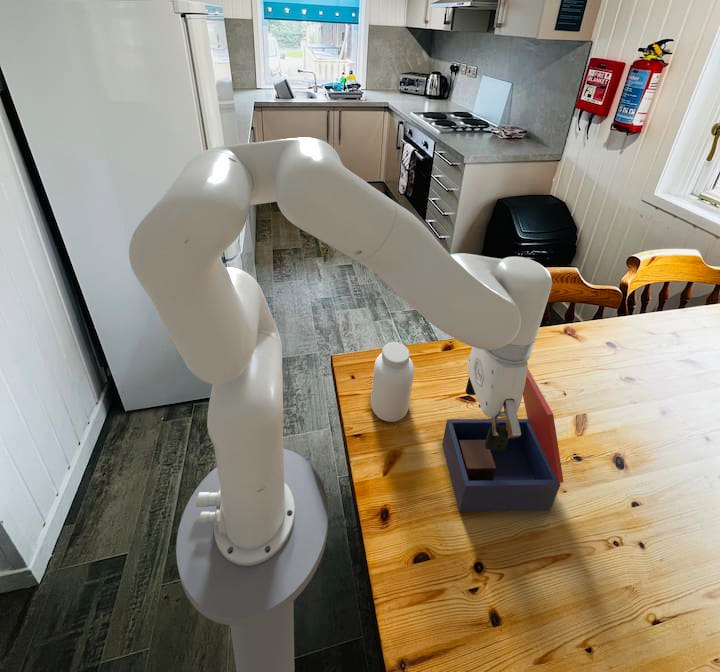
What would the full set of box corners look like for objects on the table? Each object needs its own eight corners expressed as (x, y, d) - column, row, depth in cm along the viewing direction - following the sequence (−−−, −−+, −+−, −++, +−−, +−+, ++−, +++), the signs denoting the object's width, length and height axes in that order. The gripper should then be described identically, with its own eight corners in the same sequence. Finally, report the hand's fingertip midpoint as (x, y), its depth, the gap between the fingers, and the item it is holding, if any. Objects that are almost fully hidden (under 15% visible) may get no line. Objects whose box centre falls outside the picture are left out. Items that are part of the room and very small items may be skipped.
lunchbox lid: (548, 415, 57) (553, 414, 57) (514, 354, 67) (519, 353, 67) (558, 483, 63) (563, 482, 63) (527, 417, 74) (531, 416, 74)
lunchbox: (458, 512, 65) (465, 486, 62) (442, 443, 75) (446, 418, 73) (550, 510, 66) (560, 484, 63) (520, 443, 76) (528, 418, 74)
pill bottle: (381, 429, 77) (387, 372, 72) (364, 396, 84) (368, 342, 78) (415, 415, 81) (424, 360, 75) (396, 385, 87) (403, 332, 82)
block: (462, 487, 68) (467, 468, 66) (454, 458, 72) (458, 439, 70) (491, 487, 68) (496, 468, 66) (481, 458, 72) (486, 439, 71)
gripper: (464, 299, 66) (448, 375, 72) (504, 385, 50) (478, 473, 56) (507, 300, 67) (487, 376, 73) (560, 386, 51) (529, 473, 57)
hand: (483, 418), depth 65 cm, fingers open, 9 cm apart
